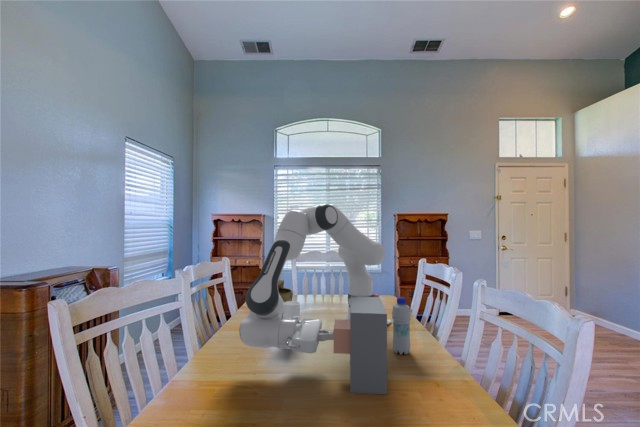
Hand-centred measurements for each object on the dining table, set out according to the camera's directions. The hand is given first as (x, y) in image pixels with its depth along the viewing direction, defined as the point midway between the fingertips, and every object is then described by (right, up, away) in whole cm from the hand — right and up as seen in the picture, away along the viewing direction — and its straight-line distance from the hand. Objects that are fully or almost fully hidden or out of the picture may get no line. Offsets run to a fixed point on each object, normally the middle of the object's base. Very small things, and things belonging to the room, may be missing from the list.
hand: (334, 335), depth 98 cm
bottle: (+25, -13, +17) cm, 33 cm away
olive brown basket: (-28, -14, +70) cm, 77 cm away
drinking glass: (-16, -13, +27) cm, 34 cm away
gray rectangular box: (+10, -12, -1) cm, 16 cm away
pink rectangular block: (+2, -4, 0) cm, 4 cm away
